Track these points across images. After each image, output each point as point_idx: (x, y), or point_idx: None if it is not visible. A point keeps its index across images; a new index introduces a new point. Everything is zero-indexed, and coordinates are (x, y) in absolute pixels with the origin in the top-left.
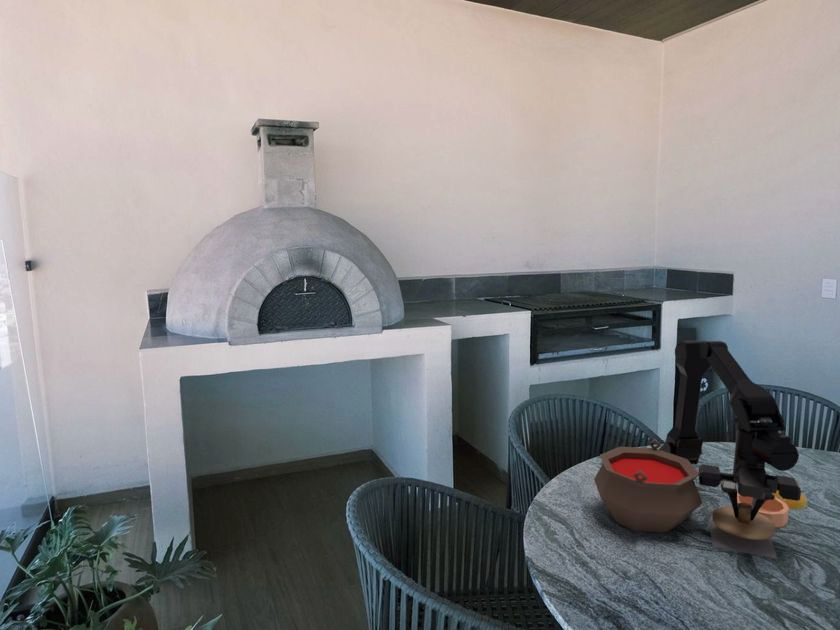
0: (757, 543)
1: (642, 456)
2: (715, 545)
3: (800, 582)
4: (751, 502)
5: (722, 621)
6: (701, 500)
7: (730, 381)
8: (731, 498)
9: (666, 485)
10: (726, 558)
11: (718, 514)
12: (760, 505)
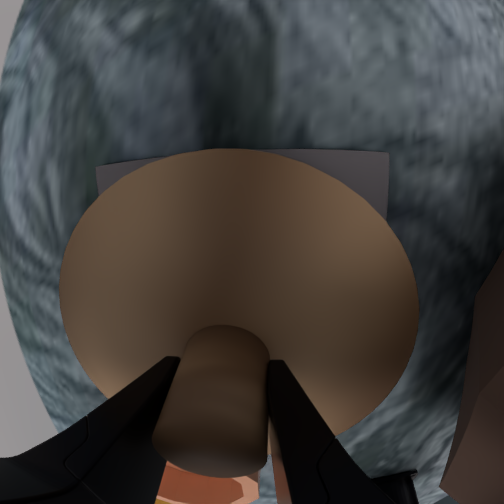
0: None
1: None
2: (375, 162)
3: (54, 65)
4: (208, 482)
5: None
6: (490, 402)
7: None
8: (363, 493)
9: None
10: (321, 89)
11: (377, 368)
12: (61, 438)
